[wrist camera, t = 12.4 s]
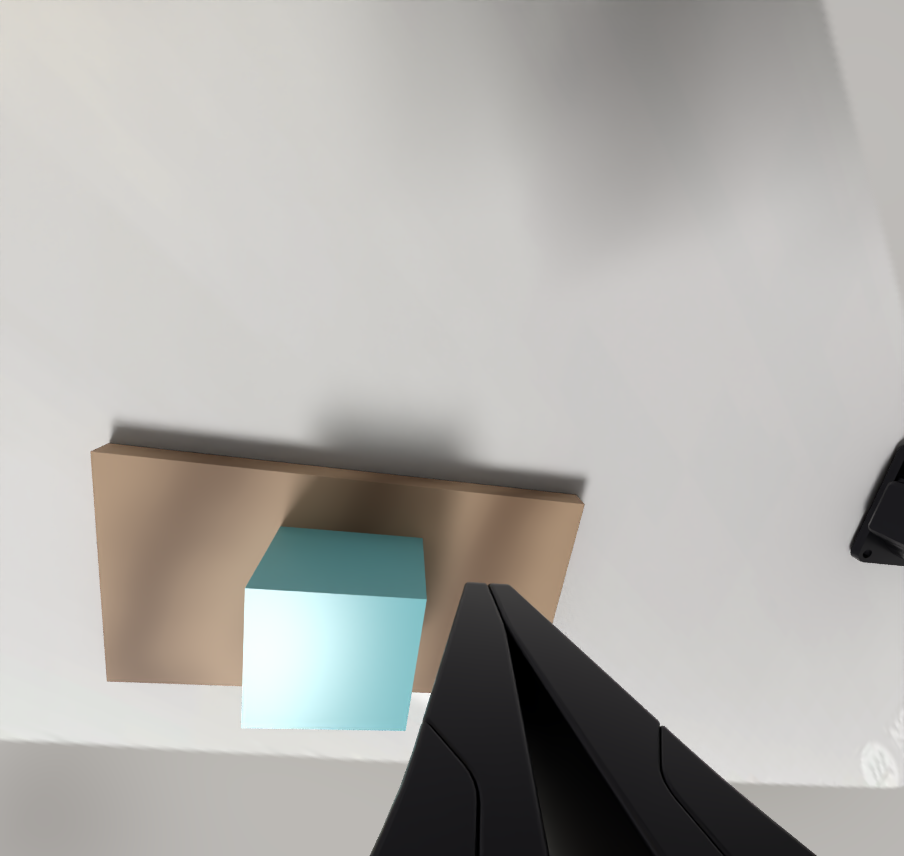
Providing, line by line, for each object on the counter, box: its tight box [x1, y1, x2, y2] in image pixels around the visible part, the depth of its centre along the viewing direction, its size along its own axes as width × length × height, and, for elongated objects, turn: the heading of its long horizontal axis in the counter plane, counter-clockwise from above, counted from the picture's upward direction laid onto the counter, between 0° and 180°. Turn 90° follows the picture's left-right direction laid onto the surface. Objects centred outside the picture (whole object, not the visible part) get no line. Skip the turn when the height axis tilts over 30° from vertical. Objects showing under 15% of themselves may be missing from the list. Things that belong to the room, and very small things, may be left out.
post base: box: [91, 443, 585, 693], centre depth 18 cm, size 20×11×4 cm, turn 81°
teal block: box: [241, 526, 427, 731], centre depth 17 cm, size 6×6×4 cm
